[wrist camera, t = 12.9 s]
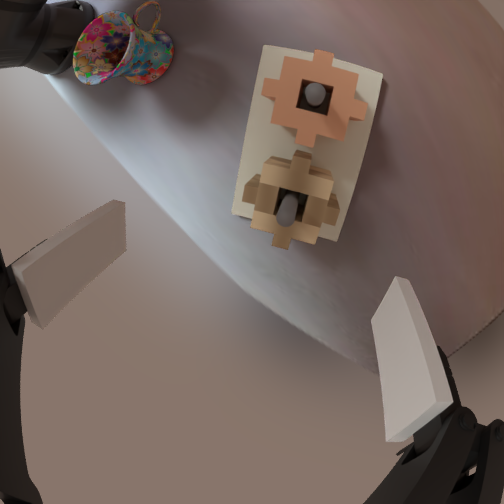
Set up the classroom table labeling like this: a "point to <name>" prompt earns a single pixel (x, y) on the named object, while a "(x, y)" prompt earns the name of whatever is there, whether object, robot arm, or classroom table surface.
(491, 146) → the classroom table surface
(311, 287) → the classroom table surface
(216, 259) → the classroom table surface
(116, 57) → the mug
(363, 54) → the classroom table surface
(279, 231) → the gear
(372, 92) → the gear board
